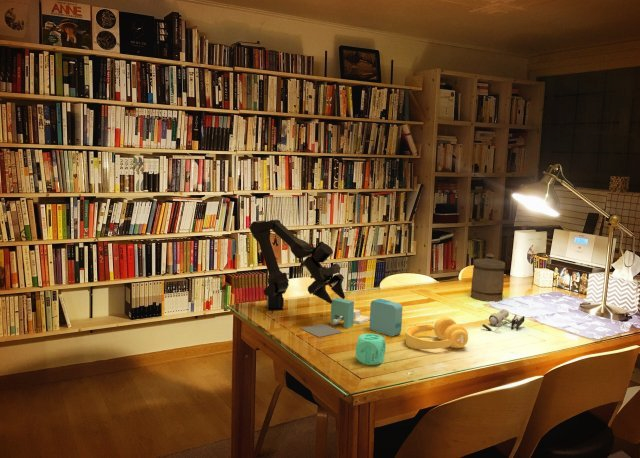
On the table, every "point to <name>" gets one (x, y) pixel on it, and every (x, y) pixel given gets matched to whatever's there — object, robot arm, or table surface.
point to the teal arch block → (342, 311)
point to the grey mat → (321, 330)
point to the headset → (438, 335)
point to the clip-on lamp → (502, 315)
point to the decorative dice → (370, 349)
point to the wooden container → (488, 279)
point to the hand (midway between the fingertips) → (338, 300)
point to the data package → (386, 317)
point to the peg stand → (354, 318)
